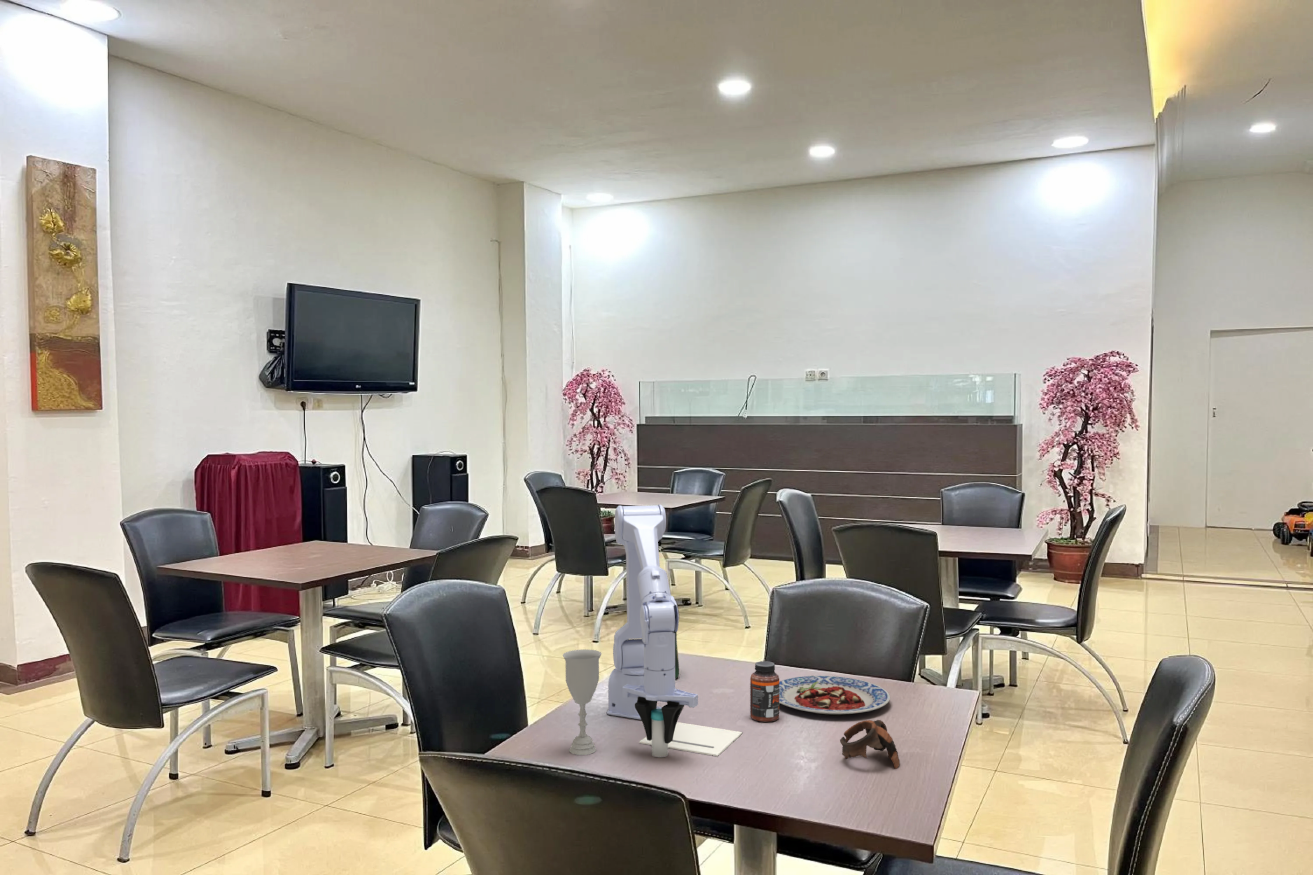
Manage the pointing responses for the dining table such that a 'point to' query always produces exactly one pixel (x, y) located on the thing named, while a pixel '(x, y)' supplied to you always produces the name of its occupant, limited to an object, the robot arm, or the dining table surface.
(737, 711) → the dining table surface
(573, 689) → the chalice
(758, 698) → the supplement bottle
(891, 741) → the brown curved ring piece
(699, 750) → the paper
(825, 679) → the ceramic plate
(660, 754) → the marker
